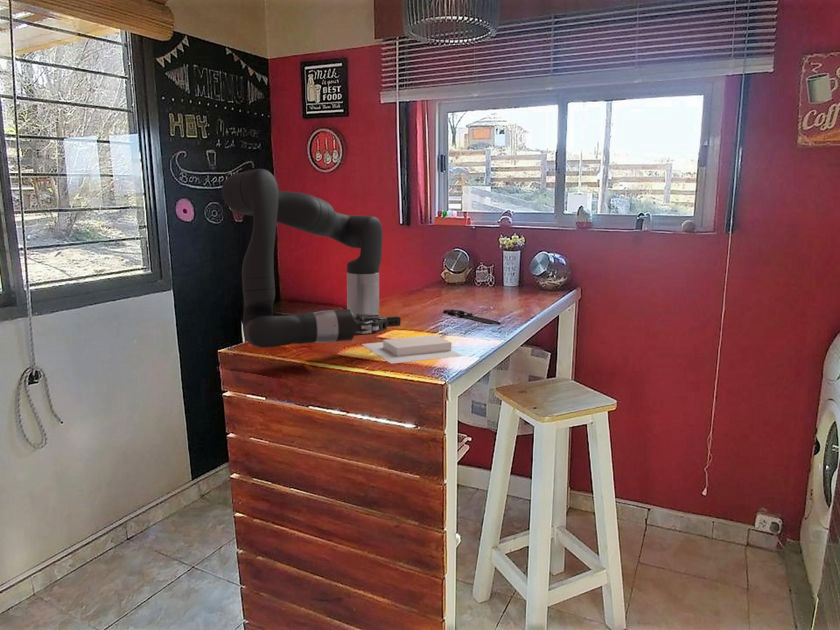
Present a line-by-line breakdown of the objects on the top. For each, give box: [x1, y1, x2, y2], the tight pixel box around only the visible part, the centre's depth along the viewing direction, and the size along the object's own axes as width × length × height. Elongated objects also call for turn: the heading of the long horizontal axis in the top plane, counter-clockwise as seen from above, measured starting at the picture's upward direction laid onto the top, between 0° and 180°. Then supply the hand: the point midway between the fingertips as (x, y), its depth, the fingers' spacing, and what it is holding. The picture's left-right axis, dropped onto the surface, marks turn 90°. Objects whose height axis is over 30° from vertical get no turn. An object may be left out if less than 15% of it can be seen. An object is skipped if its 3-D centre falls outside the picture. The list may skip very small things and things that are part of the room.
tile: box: [382, 334, 452, 356], centre depth 153 cm, size 9×2×15 cm
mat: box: [361, 341, 463, 365], centre depth 153 cm, size 20×19×1 cm
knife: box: [442, 308, 502, 325], centre depth 198 cm, size 25×6×1 cm, turn 34°
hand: (399, 320), depth 150 cm, fingers closed
